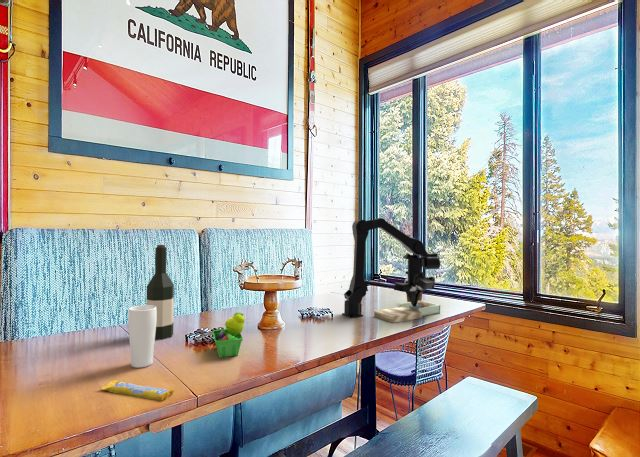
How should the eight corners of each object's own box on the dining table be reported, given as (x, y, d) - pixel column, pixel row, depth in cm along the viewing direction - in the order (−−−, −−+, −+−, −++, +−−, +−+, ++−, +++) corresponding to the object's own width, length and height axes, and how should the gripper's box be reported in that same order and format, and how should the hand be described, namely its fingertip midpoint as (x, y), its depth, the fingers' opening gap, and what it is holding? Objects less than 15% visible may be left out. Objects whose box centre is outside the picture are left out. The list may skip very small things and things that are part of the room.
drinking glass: (148, 358, 102) (149, 303, 102) (160, 364, 98) (161, 307, 98) (122, 365, 97) (123, 307, 97) (134, 371, 93) (135, 312, 93)
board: (392, 322, 144) (392, 316, 144) (374, 316, 153) (374, 310, 153) (421, 317, 152) (421, 312, 152) (402, 312, 161) (402, 306, 161)
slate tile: (416, 314, 156) (416, 307, 156) (409, 312, 160) (409, 305, 159) (423, 311, 158) (422, 305, 158) (416, 309, 162) (415, 303, 161)
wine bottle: (163, 341, 117) (164, 246, 117) (140, 338, 119) (141, 245, 118) (178, 333, 125) (179, 244, 125) (156, 331, 127) (157, 244, 127)
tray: (418, 316, 154) (419, 308, 154) (400, 311, 163) (400, 303, 163) (440, 313, 161) (440, 305, 161) (420, 308, 170) (421, 300, 170)
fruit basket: (211, 346, 113) (212, 309, 112) (241, 344, 116) (241, 307, 116) (215, 359, 102) (215, 318, 102) (247, 356, 105) (248, 316, 105)
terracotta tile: (424, 304, 158) (428, 303, 160) (417, 302, 162) (421, 301, 163) (423, 313, 158) (428, 312, 160) (416, 311, 162) (421, 310, 163)
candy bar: (177, 395, 81) (177, 387, 81) (164, 404, 77) (164, 395, 77) (115, 385, 86) (115, 377, 86) (99, 393, 82) (99, 384, 82)
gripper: (413, 273, 146) (412, 312, 146) (444, 270, 156) (444, 307, 156) (393, 270, 156) (392, 307, 156) (424, 267, 165) (423, 302, 166)
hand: (414, 306), depth 158 cm, fingers closed
